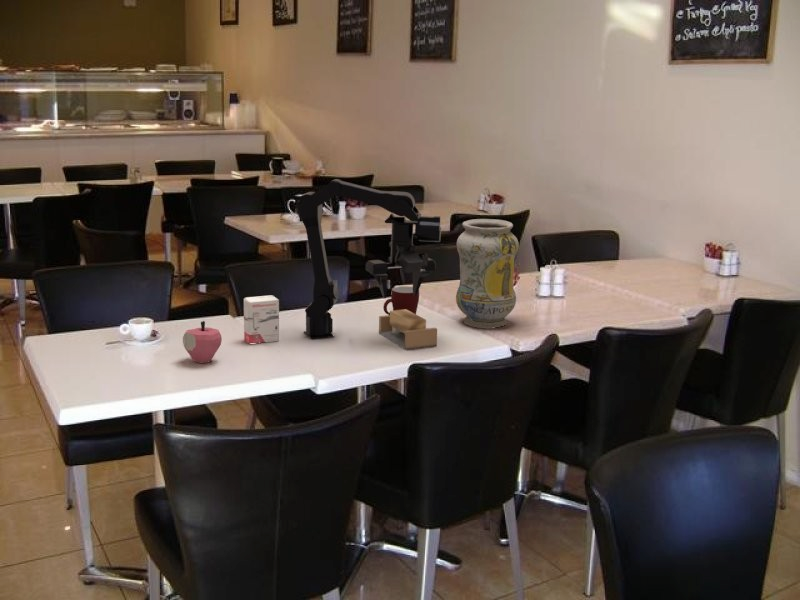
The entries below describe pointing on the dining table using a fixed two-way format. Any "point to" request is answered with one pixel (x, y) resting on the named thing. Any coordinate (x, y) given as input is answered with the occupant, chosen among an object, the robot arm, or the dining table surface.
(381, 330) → the peg stand
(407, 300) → the mug
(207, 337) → the apple
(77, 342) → the dining table surface
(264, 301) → the ink box
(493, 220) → the vase
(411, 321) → the tan wooden block
